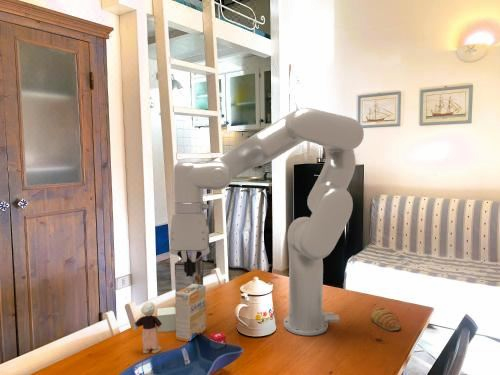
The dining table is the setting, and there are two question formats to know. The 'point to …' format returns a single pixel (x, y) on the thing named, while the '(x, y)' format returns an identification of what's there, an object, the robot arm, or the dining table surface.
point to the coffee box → (184, 281)
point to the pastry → (386, 319)
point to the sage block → (167, 318)
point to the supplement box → (190, 311)
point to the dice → (218, 337)
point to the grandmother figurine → (149, 328)
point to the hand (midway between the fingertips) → (190, 274)
